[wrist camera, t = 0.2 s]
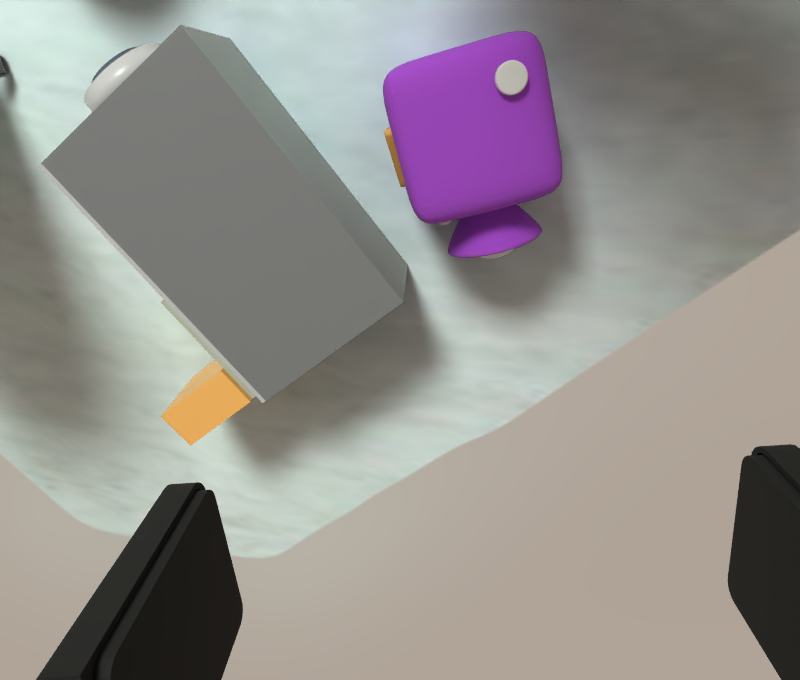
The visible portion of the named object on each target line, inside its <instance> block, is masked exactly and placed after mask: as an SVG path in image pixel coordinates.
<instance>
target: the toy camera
mask: <svg viewBox="0 0 800 680" xmlns="http://www.w3.org/2000/svg"><path fill="white" fill-rule="evenodd" d="M383 96H384V103H385V108H386V112H387V116H388V120H389V124H390V127H389V128H388V129H386V130H385V132H384V134H385V137H386V141H387V144H388V147H389V150H390V154H391V157H392V160H393V163H394V167H395V170H396V173H397V176H398V179H399V183H400V186H401V187H405V186H406V189H407V193H408V196H409V200H410V203H411V205H412V208H413V210H414V212H415V214H416V215H417V217H418V218H419V219H420V220H422V221H423V222H426V223H438V224H439V225H446V224H449V223H450V222H451V221H452V220H456V219H459V222H458V224H457V226H456V228H455V231H454V233H453V235H452V238H451V241H450V244H449V247H448V253H449V254H450V255H452V256H455V257H462V258H470V257H480V258H487V259H492V258H499V257H502V256H505V255H506V254H508V253H510V252H511V251H513V250H514V249H515V248H517V247H520V246H522V245H525V244H527V243H529V242H531V241H532V240H534V239H535V238H537V237H538V236H539V235H540V234H541V232H542V229H541V227H540V225H539V224H538V223H537V222H536V221H535V220H534V219H533V218H532V217H531V216H530V215H529V214H527V213H526V212H525V211H524V210H523V209H522V208H520V207H519V206H518V205H517V204H519V203H522V202H526V201H530V200H533V199H536V198H539V197H542V196H545V195H547V194H549V193H551V192H552V191H554V190H555V189H556V188H557V187H558V186H559V184H560V182H561V179H562V160H561V152H560V146H559V139H558V133H557V127H556V121H555V115H554V108H553V102H552V96H551V90H550V84H549V78H548V73H547V67H546V62H545V57H544V53H543V50H542V47H541V44H540V42H539V40H538V39H537V38H536V36H534V35H533V34H532V33H530V32H526V31H514V32H508V33H504V34H500V35H496V36H493V37H489V38H486V39H482V40H479V41H476V42H472V43H469V44H465V45H462V46H459V47H455V48H452V49H449V50H445V51H442V52H439V53H435V54H432V55H429V56H425V57H422V58H419V59H416V60H412V61H409V62H407V63H404V64H402V65H400V66H398V67H396V68H394V69H393V70H391V71H390V72H389V73H388V75H387V76H386V78H385V80H384V85H383Z"/></svg>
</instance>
